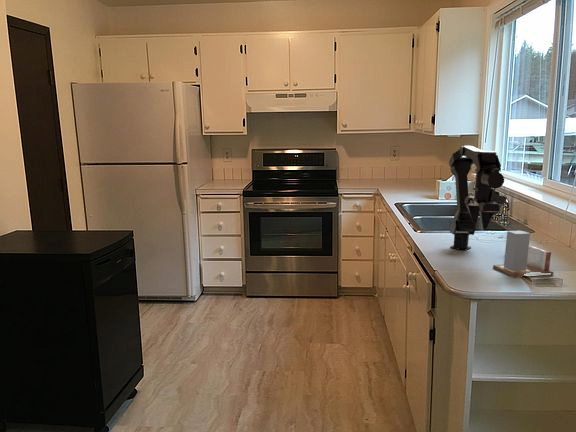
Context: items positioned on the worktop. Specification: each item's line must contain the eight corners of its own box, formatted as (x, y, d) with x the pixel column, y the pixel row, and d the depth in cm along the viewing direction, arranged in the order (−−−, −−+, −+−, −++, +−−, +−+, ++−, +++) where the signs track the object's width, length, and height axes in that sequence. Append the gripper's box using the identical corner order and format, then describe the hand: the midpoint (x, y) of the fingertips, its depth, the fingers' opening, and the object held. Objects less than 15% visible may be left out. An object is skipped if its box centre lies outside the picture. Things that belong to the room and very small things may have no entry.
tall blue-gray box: (503, 267, 166) (507, 231, 163) (517, 266, 167) (521, 230, 164) (512, 270, 161) (516, 233, 159) (526, 269, 162) (530, 233, 160)
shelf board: (513, 277, 158) (516, 254, 156) (493, 268, 168) (495, 246, 167) (553, 275, 161) (556, 252, 160) (530, 265, 172) (532, 244, 170)
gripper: (517, 188, 165) (512, 231, 168) (494, 182, 183) (490, 221, 186) (485, 188, 165) (481, 231, 168) (465, 182, 183) (462, 221, 186)
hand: (479, 226), depth 177 cm, fingers open, 9 cm apart
